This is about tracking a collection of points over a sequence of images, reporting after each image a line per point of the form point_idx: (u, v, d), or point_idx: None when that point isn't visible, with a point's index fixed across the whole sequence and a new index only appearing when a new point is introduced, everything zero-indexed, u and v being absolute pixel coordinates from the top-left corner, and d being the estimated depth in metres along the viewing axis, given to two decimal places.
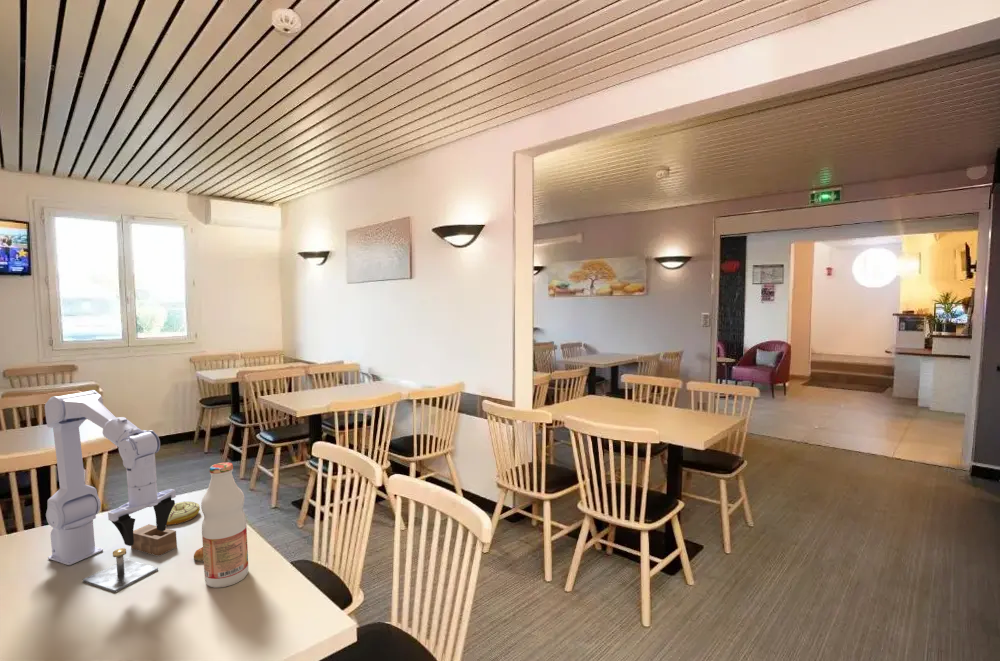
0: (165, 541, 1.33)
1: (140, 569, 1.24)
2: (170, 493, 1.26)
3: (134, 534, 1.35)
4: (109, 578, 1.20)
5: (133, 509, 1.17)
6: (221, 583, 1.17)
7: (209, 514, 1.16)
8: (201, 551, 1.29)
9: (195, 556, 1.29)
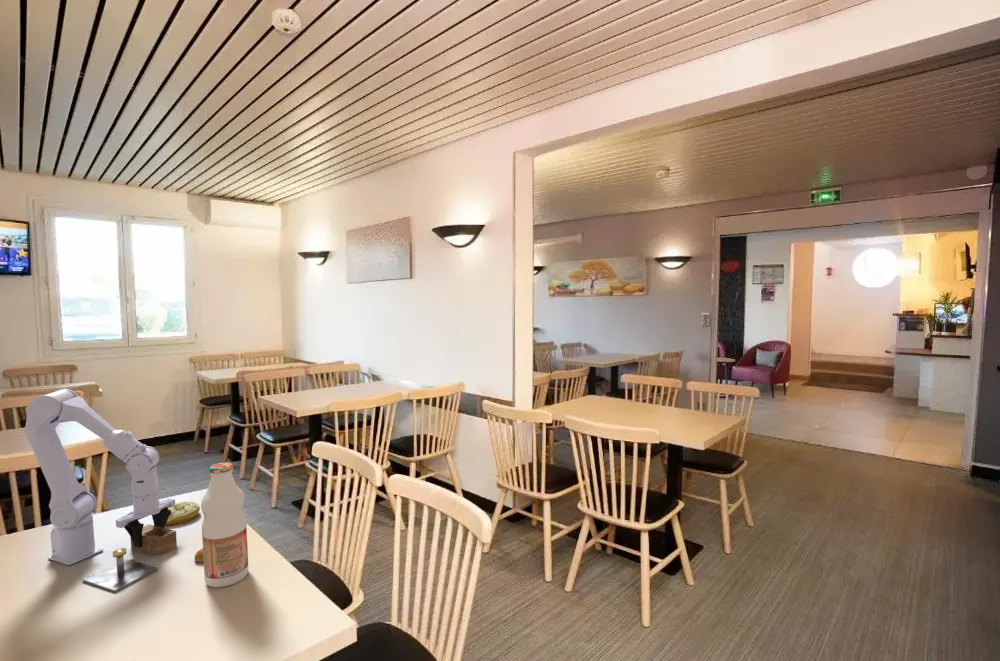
0: (165, 541, 1.33)
1: (140, 569, 1.24)
2: (170, 502, 1.41)
3: None
4: (109, 578, 1.20)
5: (138, 517, 1.32)
6: (221, 583, 1.17)
7: (208, 514, 1.16)
8: (202, 552, 1.29)
9: (196, 557, 1.28)
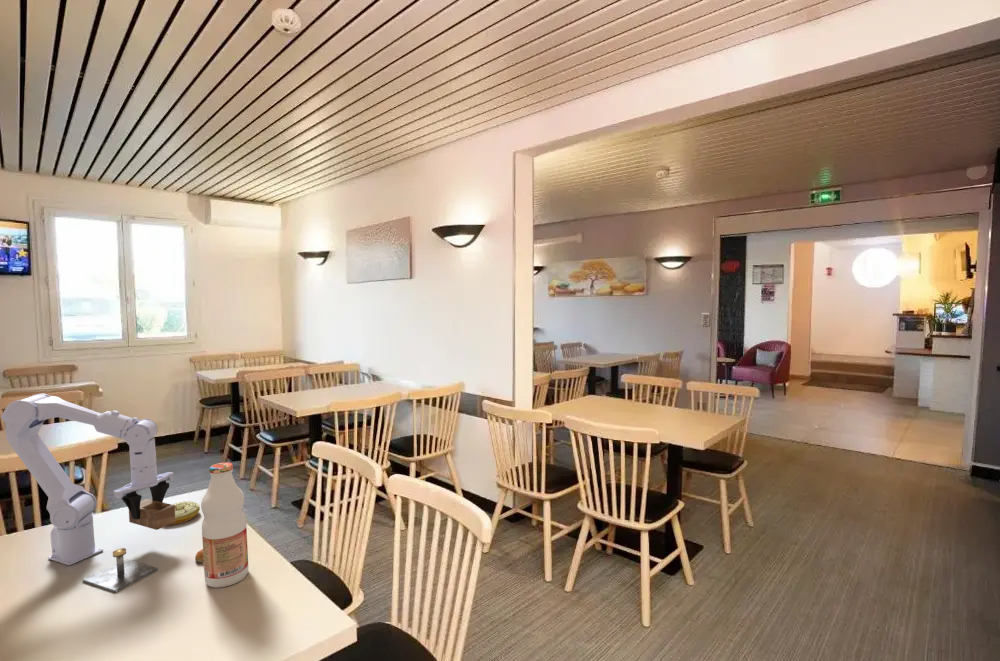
0: (164, 515, 1.33)
1: (140, 569, 1.24)
2: (169, 475, 1.40)
3: None
4: (109, 578, 1.20)
5: (136, 488, 1.31)
6: (221, 583, 1.17)
7: (208, 514, 1.16)
8: None
9: (197, 557, 1.28)
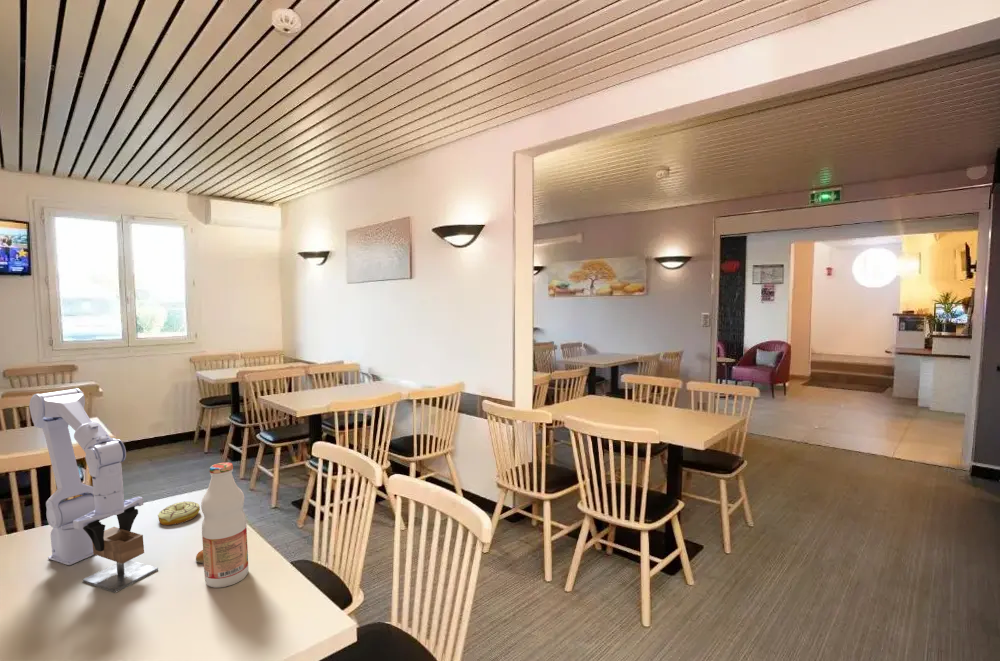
0: (130, 547, 1.20)
1: (140, 569, 1.24)
2: (137, 501, 1.27)
3: None
4: (109, 578, 1.20)
5: (99, 517, 1.18)
6: (221, 583, 1.17)
7: (208, 514, 1.16)
8: None
9: (198, 558, 1.28)
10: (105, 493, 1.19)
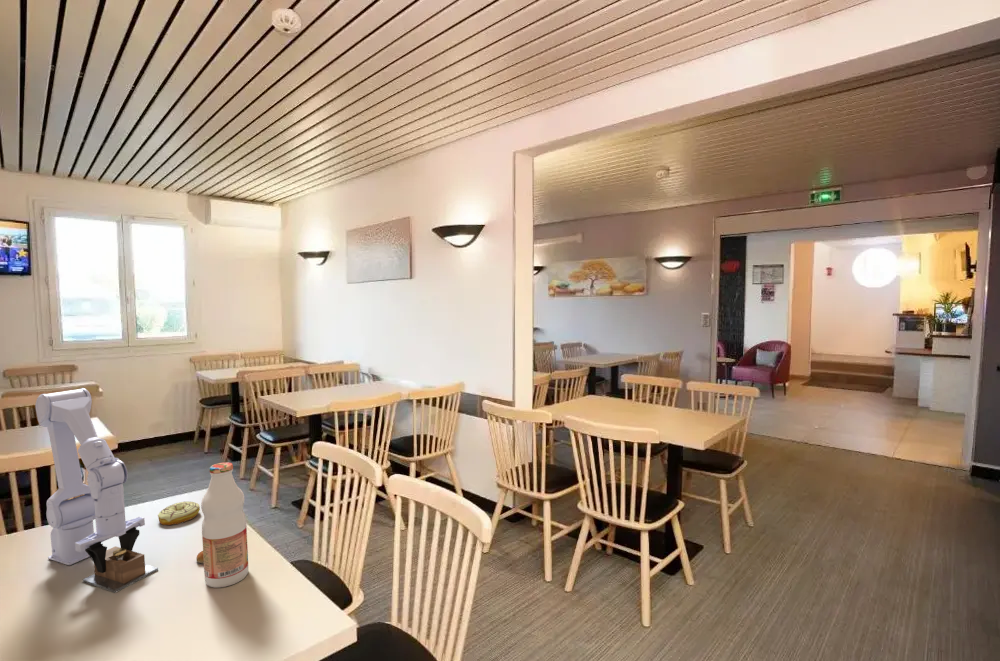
0: (132, 566, 1.20)
1: None
2: (139, 521, 1.28)
3: None
4: None
5: (100, 539, 1.19)
6: (221, 583, 1.17)
7: (209, 514, 1.16)
8: None
9: (198, 558, 1.27)
10: (107, 515, 1.20)
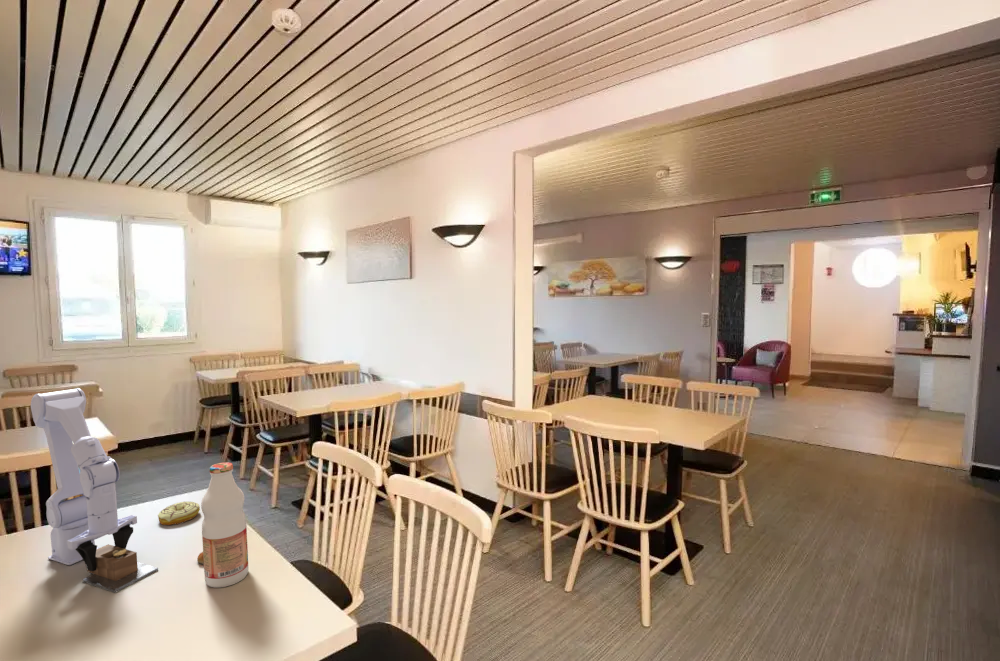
0: (124, 564, 1.21)
1: (140, 569, 1.24)
2: (131, 519, 1.29)
3: None
4: None
5: (92, 537, 1.20)
6: (221, 583, 1.17)
7: (209, 514, 1.16)
8: None
9: (199, 559, 1.27)
10: (98, 513, 1.21)
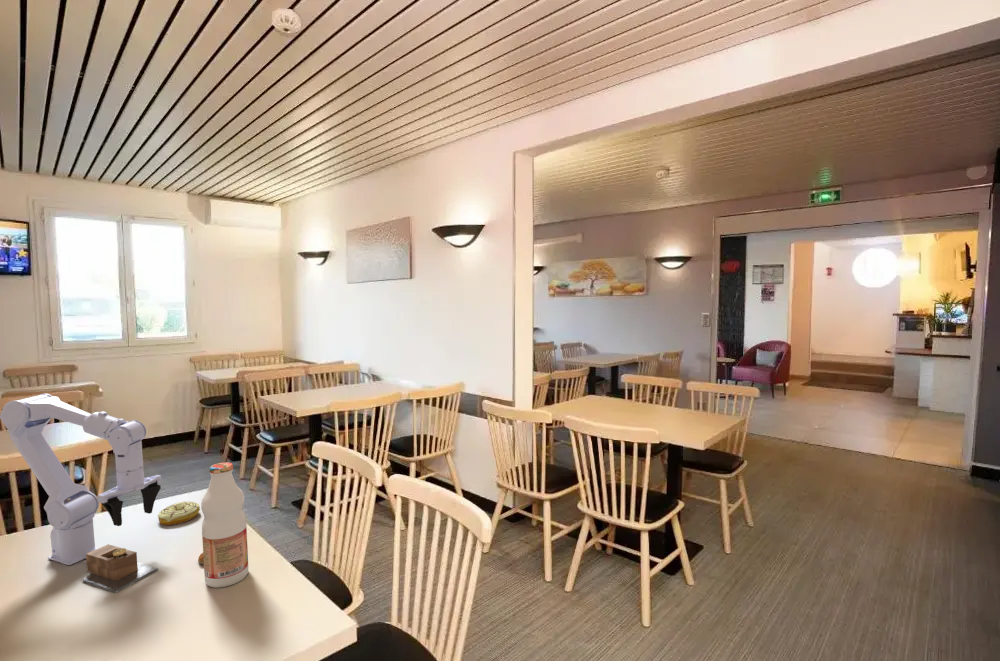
0: (124, 564, 1.21)
1: (140, 569, 1.24)
2: (156, 478, 1.36)
3: (90, 556, 1.22)
4: None
5: (121, 492, 1.27)
6: (221, 583, 1.17)
7: (209, 514, 1.16)
8: None
9: (200, 560, 1.27)
10: (134, 469, 1.29)
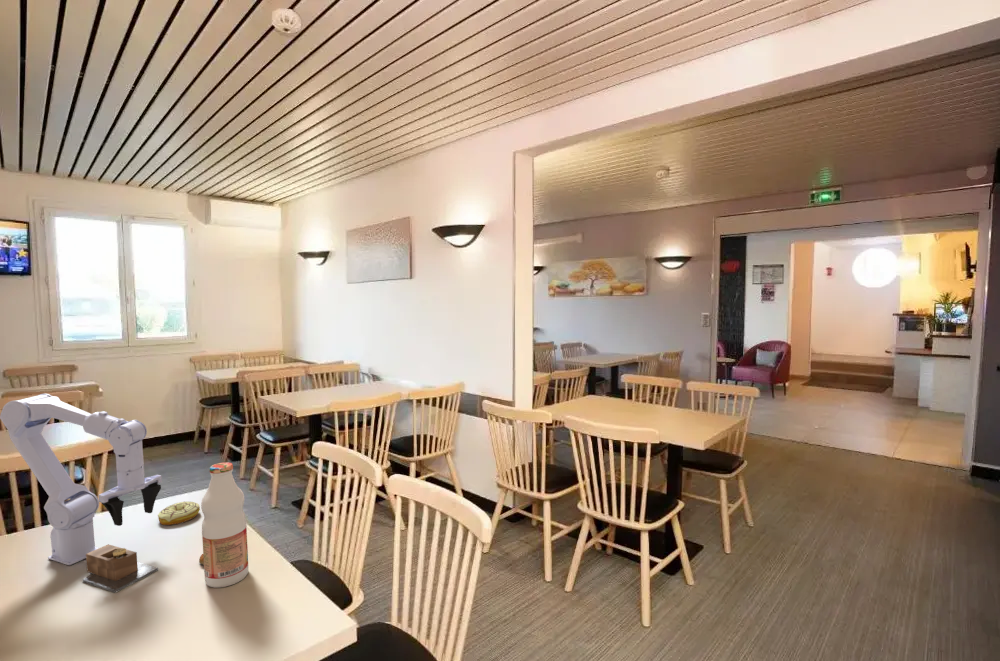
0: (124, 564, 1.21)
1: (140, 569, 1.24)
2: (157, 478, 1.36)
3: (90, 556, 1.22)
4: None
5: (122, 492, 1.27)
6: (221, 583, 1.17)
7: (209, 514, 1.16)
8: None
9: (202, 560, 1.27)
10: (134, 468, 1.29)
